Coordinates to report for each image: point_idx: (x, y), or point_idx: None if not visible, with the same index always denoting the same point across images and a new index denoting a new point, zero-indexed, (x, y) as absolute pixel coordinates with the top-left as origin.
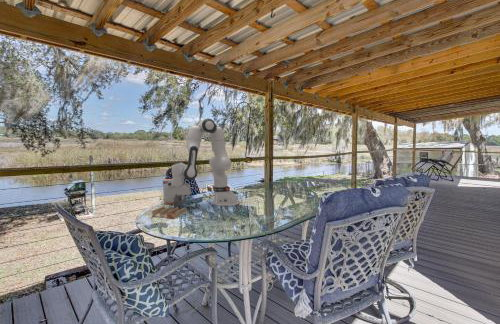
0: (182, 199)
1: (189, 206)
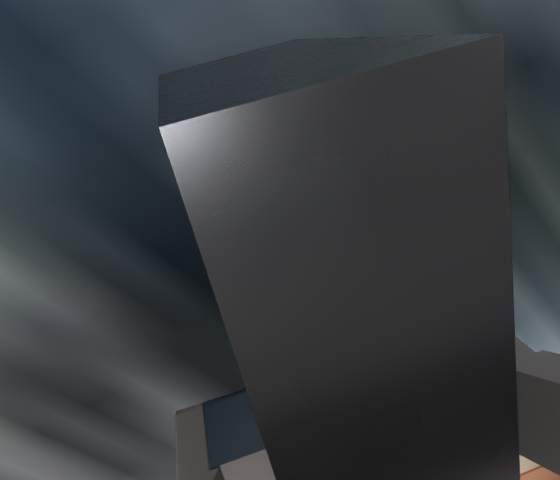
0: None
1: (401, 28)
